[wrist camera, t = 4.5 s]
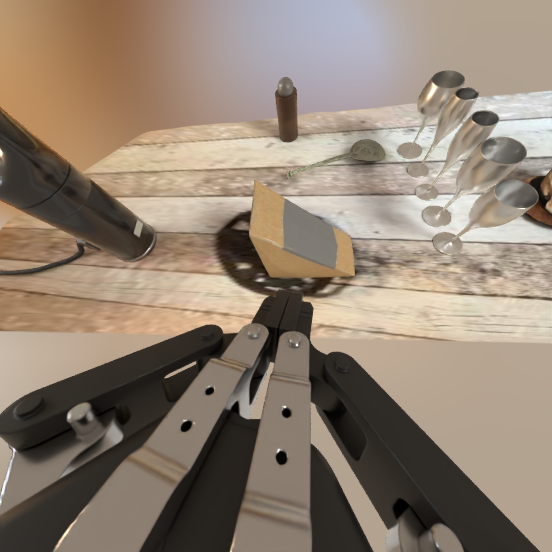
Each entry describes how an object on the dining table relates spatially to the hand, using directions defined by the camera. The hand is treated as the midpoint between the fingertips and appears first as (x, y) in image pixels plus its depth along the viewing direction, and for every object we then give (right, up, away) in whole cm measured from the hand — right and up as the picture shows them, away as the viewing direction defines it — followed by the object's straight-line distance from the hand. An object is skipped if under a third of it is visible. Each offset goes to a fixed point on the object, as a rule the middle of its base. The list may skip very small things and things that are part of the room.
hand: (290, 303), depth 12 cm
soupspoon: (+12, +26, +31) cm, 43 cm away
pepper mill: (+2, +37, +36) cm, 52 cm away
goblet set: (+28, +18, +26) cm, 43 cm away
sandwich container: (+6, +5, +25) cm, 26 cm away
